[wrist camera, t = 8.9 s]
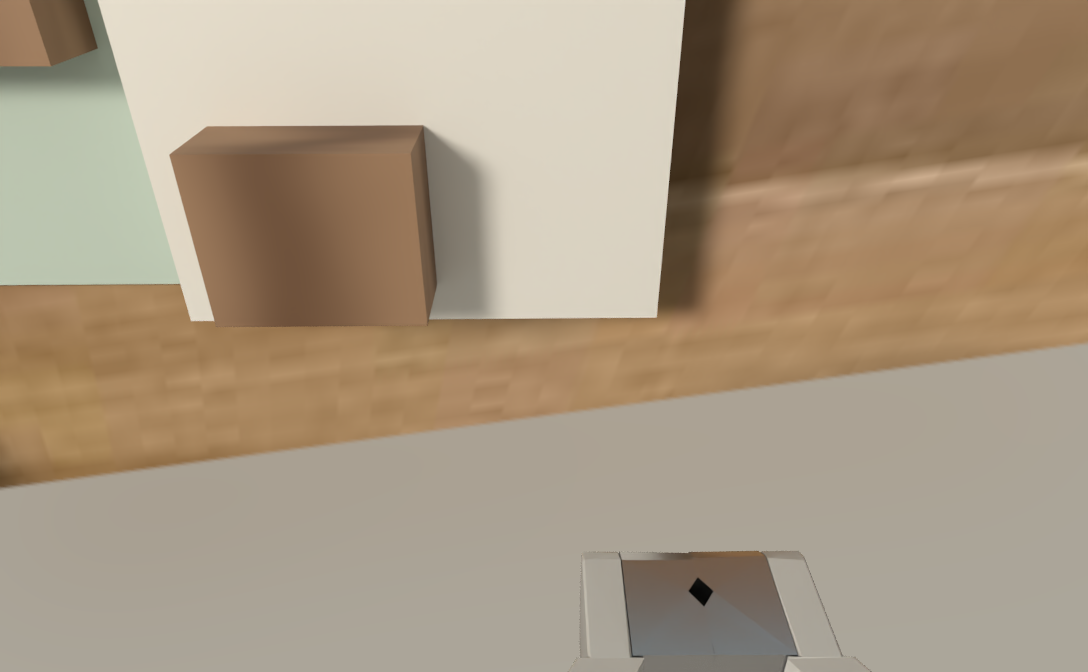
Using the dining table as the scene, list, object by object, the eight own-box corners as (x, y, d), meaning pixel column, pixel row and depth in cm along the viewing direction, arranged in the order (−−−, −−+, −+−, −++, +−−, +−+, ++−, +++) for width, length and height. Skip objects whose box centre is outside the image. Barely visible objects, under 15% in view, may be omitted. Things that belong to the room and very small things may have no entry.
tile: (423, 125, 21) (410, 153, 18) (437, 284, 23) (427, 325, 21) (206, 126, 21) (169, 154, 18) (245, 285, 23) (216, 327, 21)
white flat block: (682, -209, 19) (705, -222, 17) (644, 275, 26) (656, 317, 24) (100, -208, 19) (32, -223, 16) (224, 278, 26) (191, 321, 24)
